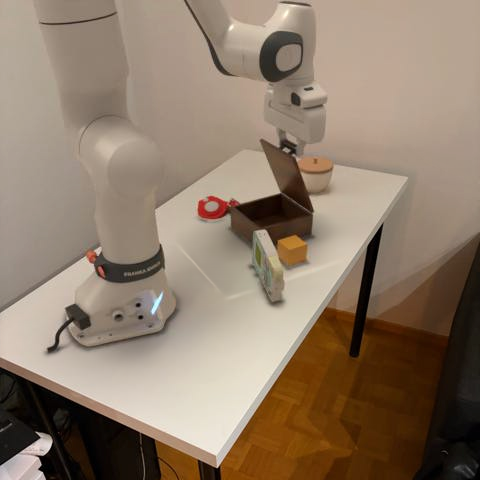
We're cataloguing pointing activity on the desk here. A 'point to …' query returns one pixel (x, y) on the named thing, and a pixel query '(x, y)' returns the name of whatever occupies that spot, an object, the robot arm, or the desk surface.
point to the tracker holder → (214, 207)
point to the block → (292, 250)
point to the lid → (287, 172)
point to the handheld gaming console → (267, 264)
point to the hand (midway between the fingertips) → (291, 150)
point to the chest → (271, 218)
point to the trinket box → (315, 173)
